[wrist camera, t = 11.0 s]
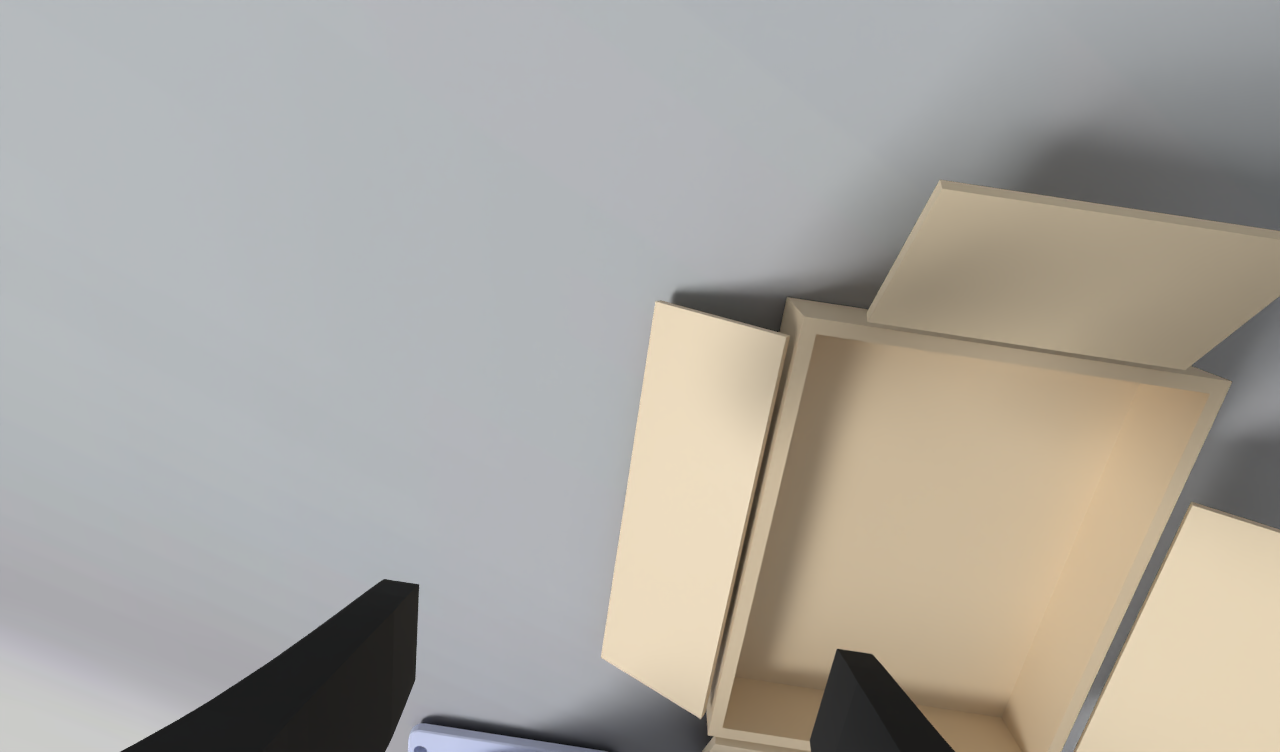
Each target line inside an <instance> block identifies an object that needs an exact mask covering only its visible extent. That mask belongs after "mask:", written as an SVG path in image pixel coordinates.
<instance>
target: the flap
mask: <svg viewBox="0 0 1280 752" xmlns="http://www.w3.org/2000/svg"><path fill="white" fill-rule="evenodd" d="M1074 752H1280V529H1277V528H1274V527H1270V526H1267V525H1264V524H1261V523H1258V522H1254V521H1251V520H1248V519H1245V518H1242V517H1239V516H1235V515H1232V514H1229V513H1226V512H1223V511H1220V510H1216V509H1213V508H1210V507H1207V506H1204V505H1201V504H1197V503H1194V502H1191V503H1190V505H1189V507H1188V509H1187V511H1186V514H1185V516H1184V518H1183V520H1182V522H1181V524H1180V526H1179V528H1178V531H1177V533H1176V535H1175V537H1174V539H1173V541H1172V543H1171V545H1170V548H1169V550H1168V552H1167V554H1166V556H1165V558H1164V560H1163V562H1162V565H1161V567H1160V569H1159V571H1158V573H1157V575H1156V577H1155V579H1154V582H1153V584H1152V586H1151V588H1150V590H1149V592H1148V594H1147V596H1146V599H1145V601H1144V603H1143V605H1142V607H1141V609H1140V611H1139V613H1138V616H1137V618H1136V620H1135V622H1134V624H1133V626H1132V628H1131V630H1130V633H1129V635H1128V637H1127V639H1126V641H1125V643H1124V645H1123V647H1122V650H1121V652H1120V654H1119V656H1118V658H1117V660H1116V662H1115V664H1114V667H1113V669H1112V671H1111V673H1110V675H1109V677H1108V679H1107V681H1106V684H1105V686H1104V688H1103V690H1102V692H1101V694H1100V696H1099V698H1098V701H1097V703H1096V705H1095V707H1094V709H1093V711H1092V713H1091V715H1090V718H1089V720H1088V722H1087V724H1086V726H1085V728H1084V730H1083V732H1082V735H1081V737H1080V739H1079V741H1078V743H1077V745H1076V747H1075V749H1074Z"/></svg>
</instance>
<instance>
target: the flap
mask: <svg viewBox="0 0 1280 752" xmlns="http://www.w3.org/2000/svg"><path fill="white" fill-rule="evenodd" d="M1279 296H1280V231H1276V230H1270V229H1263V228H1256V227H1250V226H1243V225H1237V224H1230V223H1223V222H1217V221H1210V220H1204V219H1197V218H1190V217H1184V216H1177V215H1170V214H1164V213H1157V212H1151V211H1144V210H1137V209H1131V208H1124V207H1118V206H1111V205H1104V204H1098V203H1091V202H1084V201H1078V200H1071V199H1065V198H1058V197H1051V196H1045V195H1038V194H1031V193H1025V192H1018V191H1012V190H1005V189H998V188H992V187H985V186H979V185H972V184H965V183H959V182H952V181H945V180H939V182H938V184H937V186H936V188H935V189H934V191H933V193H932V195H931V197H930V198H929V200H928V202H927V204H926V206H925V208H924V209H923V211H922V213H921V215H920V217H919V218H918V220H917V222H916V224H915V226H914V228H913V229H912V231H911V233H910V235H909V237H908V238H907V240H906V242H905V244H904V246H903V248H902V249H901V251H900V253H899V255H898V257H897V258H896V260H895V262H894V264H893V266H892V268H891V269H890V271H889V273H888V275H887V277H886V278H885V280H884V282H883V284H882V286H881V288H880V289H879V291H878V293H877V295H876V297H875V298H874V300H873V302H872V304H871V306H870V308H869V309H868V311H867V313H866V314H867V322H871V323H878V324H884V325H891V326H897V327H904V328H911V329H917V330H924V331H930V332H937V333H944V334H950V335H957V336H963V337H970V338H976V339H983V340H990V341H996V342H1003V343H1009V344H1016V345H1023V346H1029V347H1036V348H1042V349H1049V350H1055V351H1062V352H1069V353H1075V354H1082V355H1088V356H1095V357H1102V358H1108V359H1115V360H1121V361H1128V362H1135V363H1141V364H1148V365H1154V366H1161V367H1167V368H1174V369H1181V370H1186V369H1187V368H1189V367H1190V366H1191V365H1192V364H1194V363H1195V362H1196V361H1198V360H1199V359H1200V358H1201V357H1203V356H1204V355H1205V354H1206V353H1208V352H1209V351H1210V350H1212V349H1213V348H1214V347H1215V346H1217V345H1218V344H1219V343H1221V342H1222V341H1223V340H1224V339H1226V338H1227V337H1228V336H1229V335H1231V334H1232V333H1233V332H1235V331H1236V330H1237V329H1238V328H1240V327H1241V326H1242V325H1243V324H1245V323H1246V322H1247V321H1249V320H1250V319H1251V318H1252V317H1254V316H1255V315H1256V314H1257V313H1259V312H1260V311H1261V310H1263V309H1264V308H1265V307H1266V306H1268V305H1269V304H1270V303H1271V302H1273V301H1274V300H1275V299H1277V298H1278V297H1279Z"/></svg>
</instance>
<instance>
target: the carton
mask: <svg viewBox="0 0 1280 752" xmlns="http://www.w3.org/2000/svg"><path fill="white" fill-rule="evenodd" d="M867 311H868V309H863V308H856V307H849V306H843V305H836V304H830V303H823V302H817V301H810V300H803V299H797V298H790V297H787V299H786V304H785V309H784V313H783V318H782V322H781V327H780V331H779V332H776V331H772V330H768V329H765V328H761V327H757V326H754V325H750V324H746V323H742V322H739V321H735V320H731V319H728V318H724V317H720V316H717V315H713V314H709V313H705V312H702V311H698V310H694V309H691V308H687V307H683V306H679V305H676V304H672V303H668V302H665V301H656V302H655V308H654V315H653V321H652V328H651V334H650V341H649V347H648V354H647V360H646V367H645V373H644V380H643V386H642V393H641V399H640V406H639V412H638V419H637V425H636V432H635V439H634V445H633V452H632V458H631V465H630V471H629V478H628V484H627V491H626V497H625V504H624V510H623V517H622V523H621V530H620V536H619V543H618V549H617V556H616V562H615V569H614V575H613V582H612V588H611V595H610V601H609V608H608V615H607V621H606V628H605V634H604V641H603V647H602V654H601V658H603V659H604V660H606V661H608V662H609V663H611V664H612V665H614V666H616V667H617V668H619V669H620V670H622V671H624V672H625V673H627V674H629V675H630V676H632V677H633V678H635V679H637V680H638V681H640V682H642V683H643V684H645V685H646V686H648V687H650V688H651V689H653V690H654V691H656V692H658V693H659V694H661V695H663V696H664V697H666V698H667V699H669V700H671V701H672V702H674V703H676V704H677V705H679V706H680V707H682V708H684V709H685V710H687V711H688V712H690V713H692V714H693V715H695V716H697V717H698V718H700V719H701V718H702V717H703V716H704V714H705V712H707V729H708V736H714V737H713V738H712V739H711V740H710V742H709V743H708V744H707V746H706V747H705V748H704V749H703V751H702V752H811V747H810V738H811V734H812V731H813V727H814V724H815V721H816V717H817V714H818V711H819V707H820V704H821V700H822V697H823V694H824V690H825V687H826V684H827V680H828V677H829V673H830V670H831V667H832V663H833V660H834V657H835V653H836V650H837V649H843V650H850V651H856V652H863V653H869V654H873V655H874V656H875V657H876V659H877V660H878V661H879V662H880V663H881V664H882V665H883V667H884V668H885V669H886V670H887V671H888V673H889V674H890V675H891V676H892V677H893V679H894V680H895V681H896V682H897V683H898V685H899V686H900V687H901V688H902V689H903V691H904V692H905V693H906V694H907V695H908V697H909V698H910V699H911V700H912V701H913V703H914V704H915V705H916V706H917V707H918V709H919V710H920V711H921V712H922V713H923V715H924V716H925V717H926V718H927V719H928V721H929V722H930V723H931V724H932V725H933V726H934V728H935V729H936V730H937V731H938V732H939V734H940V735H941V736H942V737H943V738H944V739H945V741H946V742H947V743H948V744H949V745H950V746H951V747H952V749H953V750H954V751H955V752H1061V751H1062V749H1063V747H1064V744H1065V742H1066V740H1067V738H1068V736H1069V734H1070V731H1071V729H1072V727H1073V725H1074V723H1075V721H1076V718H1077V716H1078V714H1079V712H1080V710H1081V708H1082V705H1083V703H1084V701H1085V699H1086V697H1087V695H1088V692H1089V690H1090V688H1091V686H1092V684H1093V682H1094V679H1095V677H1096V675H1097V673H1098V671H1099V669H1100V667H1101V664H1102V662H1103V660H1104V658H1105V656H1106V654H1107V651H1108V649H1109V647H1110V645H1111V643H1112V641H1113V638H1114V636H1115V634H1116V632H1117V630H1118V628H1119V625H1120V623H1121V621H1122V619H1123V617H1124V615H1125V612H1126V610H1127V608H1128V606H1129V604H1130V602H1131V600H1132V597H1133V595H1134V593H1135V591H1136V589H1137V587H1138V584H1139V582H1140V580H1141V578H1142V576H1143V574H1144V571H1145V569H1146V567H1147V565H1148V563H1149V561H1150V558H1151V556H1152V554H1153V552H1154V550H1155V548H1156V545H1157V543H1158V541H1159V539H1160V537H1161V535H1162V532H1163V530H1164V528H1165V526H1166V524H1167V522H1168V519H1169V517H1170V515H1171V513H1172V511H1173V509H1174V507H1175V504H1176V502H1177V500H1178V498H1179V496H1180V494H1181V491H1182V489H1183V487H1184V485H1185V483H1186V481H1187V478H1188V476H1189V474H1190V472H1191V470H1192V468H1193V465H1194V463H1195V461H1196V459H1197V457H1198V455H1199V452H1200V450H1201V448H1202V446H1203V444H1204V442H1205V440H1206V437H1207V435H1208V433H1209V431H1210V429H1211V427H1212V424H1213V422H1214V420H1215V418H1216V416H1217V414H1218V411H1219V409H1220V407H1221V405H1222V403H1223V401H1224V398H1225V396H1226V394H1227V392H1228V390H1229V388H1230V385H1231V383H1232V381H1229V380H1227V379H1224V378H1222V377H1219V376H1216V375H1214V374H1211V373H1209V372H1206V371H1203V370H1201V369H1198V368H1195V367H1193V366H1190V367H1189V368H1187V369H1186V370H1181V369H1174V368H1167V367H1161V366H1154V365H1148V364H1141V363H1135V362H1128V361H1121V360H1115V359H1108V358H1102V357H1095V356H1088V355H1082V354H1075V353H1069V352H1062V351H1055V350H1049V349H1042V348H1036V347H1029V346H1023V345H1016V344H1009V343H1003V342H996V341H990V340H983V339H976V338H970V337H963V336H957V335H950V334H944V333H937V332H930V331H924V330H917V329H911V328H904V327H897V326H891V325H884V324H878V323H871V322H867V314H866V313H867Z"/></svg>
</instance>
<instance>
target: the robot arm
mask: <svg viewBox="0 0 1280 752" xmlns="http://www.w3.org/2000/svg"><path fill="white" fill-rule="evenodd" d="M418 597H419V584H412V583H406V582H399V581H393V580H386V579H383V580H382V581H381V582H379V583H378V584H376V585H375V586H374V587H372V588H371V589H369V590H368V591H367V592H365V593H364V594H362V595H361V596H360V597H358V598H357V599H356V600H354V601H353V602H352V603H350V604H349V605H348V606H346V607H345V608H344V609H342V610H341V611H340V612H338V613H337V614H336V615H334V616H333V617H332V618H330V619H329V620H327V621H326V622H325V623H323V624H322V625H321V626H319V627H318V628H317V629H315V630H314V631H312V632H311V633H310V634H308V635H307V636H305V637H304V638H303V639H301V640H300V641H298V642H297V643H296V644H294V645H293V646H291V647H290V648H288V649H287V650H286V651H284V652H283V653H281V654H280V655H279V656H277V657H276V658H274V659H273V660H271V661H270V662H269V663H267V664H266V665H264V666H263V667H261V668H260V669H258V670H257V671H255V672H253V673H252V674H250V675H249V676H247V677H246V678H244V679H243V680H241V681H240V682H238V683H237V684H235V685H234V686H232V687H230V688H229V689H227V690H226V691H224V692H223V693H221V694H220V695H218V696H217V697H215V698H214V699H212V700H210V701H209V702H207V703H206V704H204V705H202V706H201V707H199V708H197V709H196V710H194V711H192V712H191V713H189V714H187V715H185V716H184V717H182V718H180V719H179V720H177V721H175V722H173V723H172V724H170V725H168V726H166V727H164V728H163V729H161V730H159V731H157V732H155V733H154V734H152V735H150V736H148V737H147V738H145V739H143V740H141V741H139V742H138V743H136V744H134V745H132V746H130V747H128V748H126V749H125V750H123V751H121V752H385V751H386V749H387V747H388V745H389V743H390V741H391V739H392V736H393V734H394V731H395V729H396V727H397V724H398V722H399V719H400V717H401V715H402V712H403V710H404V707H405V705H406V702H407V699H408V697H409V694H410V692H411V689H412V687H413V684H414V682H415V672H416V647H417V622H418ZM421 746H422V747H421ZM424 747H425V748H424ZM810 747H811V752H955V751H954V750H953V749H952V747H951V746H950V745H949V744H948V743H947V742H946V741H945V739H944V738H943V737H942V736H941V735H940V734H939V732H938V731H937V730H936V729H935V728H934V726H933V725H932V724H931V723H930V722H929V721H928V719H927V718H926V717H925V716H924V715H923V713H922V712H921V711H920V710H919V709H918V707H917V706H916V705H915V704H914V703H913V701H912V700H911V699H910V698H909V697H908V695H907V694H906V693H905V692H904V691H903V689H902V688H901V687H900V686H899V685H898V683H897V682H896V681H895V680H894V679H893V677H892V676H891V675H890V674H889V673H888V671H887V670H886V669H885V668H884V667H883V665H882V664H881V663H880V662H879V661H878V660H877V659H876V657H875V656H874V655H873V654H869V653H863V652H856V651H850V650H843V649H837V650H836V653H835V657H834V660H833V663H832V667H831V670H830V673H829V677H828V680H827V684H826V687H825V690H824V694H823V697H822V700H821V704H820V707H819V711H818V714H817V717H816V721H815V724H814V727H813V731H812V734H811V738H810ZM408 752H608V751H601V750H595V749H588V748H582V747H575V746H569V745H562V744H556V743H549V742H543V741H536V740H530V739H523V738H517V737H510V736H504V735H497V734H491V733H484V732H478V731H471V730H465V729H458V728H452V727H445V726H439V725H432V724H426V723H420V724H417V725H415V726H414V727H413V728H412V730H411V733H410V735H409V738H408Z"/></svg>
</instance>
